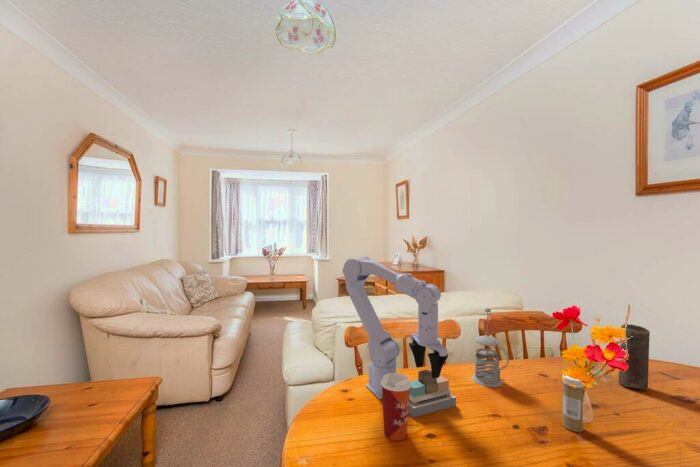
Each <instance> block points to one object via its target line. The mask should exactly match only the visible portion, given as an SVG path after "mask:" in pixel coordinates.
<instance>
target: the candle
mask: <svg viewBox="0 0 700 467" xmlns="http://www.w3.org/2000/svg"><path fill="white" fill-rule="evenodd" d="M626 325H627V327H626V337H627V338H630V337H631V336H633V337H631V338H630V339H628V340H627V349H628V354H629V359H628V360H626V361H625V362H626V363H627V364H628V365H629V368H628V370H626V371H625V372H623V371H619V370H618V383H619V384H621V385H622V386H623V387H627V388H630V387H631V389H634V388H635V389H634V390H638V389H640V390H639V391H644V390H647V389H648V386H649V358H650V330H648V329H647V328H645V327H643V326H641V325H635V324H627V323H626ZM621 328H625V324H622V325H621V326H620V329H621ZM621 340H622V339H621V338H620V341H621ZM620 347H621V348H622V349H624V350H626V344H625V342H623V343H621V344H620V345H619V348H620Z"/></svg>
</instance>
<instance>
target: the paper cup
mask: <svg viewBox="0 0 700 467" xmlns="http://www.w3.org/2000/svg"><path fill="white" fill-rule="evenodd" d="M410 381H411V380H410V378H409V377H408V376H407V375H405V374H403V373H398V372H396V373H388V374H386V375H384V376H383V378H382V380H381V386H382V399H381V400H382V415H383V418H382V419H383V432H384V435H385V437H386V438H387V439H389V440H391V441H396V442H398V441H403V440H405V439H406V438H407V434H408V420H409V413H408V409H409V393H410V387H411V383H410Z"/></svg>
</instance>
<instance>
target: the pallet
mask: <svg viewBox="0 0 700 467" xmlns="http://www.w3.org/2000/svg"><path fill="white" fill-rule="evenodd" d="M417 380H418V381H419V382H420V383H422V384H423V385H425V395H421V396H417V397H412V396H411V395H410V394H409V401H410V402H411V403H412V404H413V405H418V401H422V400H426V399H430V398H434V397H438V396H442V395H445V396H446V397H449V396H450V394H452V392H451V390H452V389H451V388H449V389H446V390H442V391H437V378H432V374H431V369H423V370H419V371H418V373H417Z"/></svg>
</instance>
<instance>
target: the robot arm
mask: <svg viewBox="0 0 700 467" xmlns="http://www.w3.org/2000/svg"><path fill="white" fill-rule="evenodd" d="M342 274H343V276H344V280H345V289H346V291H347V294H348V295H349V297H350V298H349V299H351V302H352V304H353V306H354V308H355V311H356V313H357V314H358V317H359V319H360V321H361V324H362V326H363V329H364V330H365V332H366V334H367V336H368V337H367V338H368V341H367V346H366V347H367V350H368V352H369V360H370V363H369V365H368V383H367V384H365V386H366V387H367V388H368V389H369V391H371V392H372V393H373V394H374V395H375V396H376V397H377V398H378V400H383V399H382V386H381V380H382V378H383V376H384V375H386V374H388V373H397V358H398V356H399V355H400V351H401V350H400V346H399V344H398V342H397V341H396V340H395V339H394V338H393V337H392V334H390V332H387V331H386V330H385V329H384V327H383V325H382V323H381V321H380V319H379V317H378V315H377V312H376V311H375V309H374V306H373V305H372V302H371V300H370V298H369V297H368V293H367V292H366V290H365V288H364V286H365V283H366V281H367V280H368V278H369V276H371V275H373V276H375V277H379V278H381V279H383V280H385V281H387V282H389V283H392V284H394V286H395V287H394V288H396V290H397V291H398V292H401V293H403V294H405V295H407V296H409V297H410V298H413V299H414V300H415V301H416V303H417V304H418V308H417V317H418V318H417V333H416V332H415V333H410V341H412V342H409V343H408V346H409V348H410V350H411V352H412V355H413V358H414V363H415V367H416V368H417V369H419V368H423V367H424V364H425V354H426V349H427V348H428V349H429V350H431V351H432V352H430V353H427V357H428V358H429V363H430V371H431V374H432V378H438V377H439V376H440V375H441V372H442V369H443V367H444V364H445V363H446V360H447V359H448V357H449V355H448V348H446V347H445V346H444V345H443V344H442V343H441V339H439V301H440V300H441V296H442V295H441V294H442V293H441V289H440V288H439V287H438V286H437V285H435V284H434V283H427V281H426V280H420V279H418V278H416V277H415V276H413V273H410V272H407V273H405V272H404V273H401V274H399V273H397V272H396V271H394V270H392V269H390V268H388V267H386V266H385V265H384V264H381V263H379V262H377V261H376V260H375V259H372V258H370V257H368V256H362V257H356V258H348V259H347V260H346V261H345V262H344V264H343V268H342Z"/></svg>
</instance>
